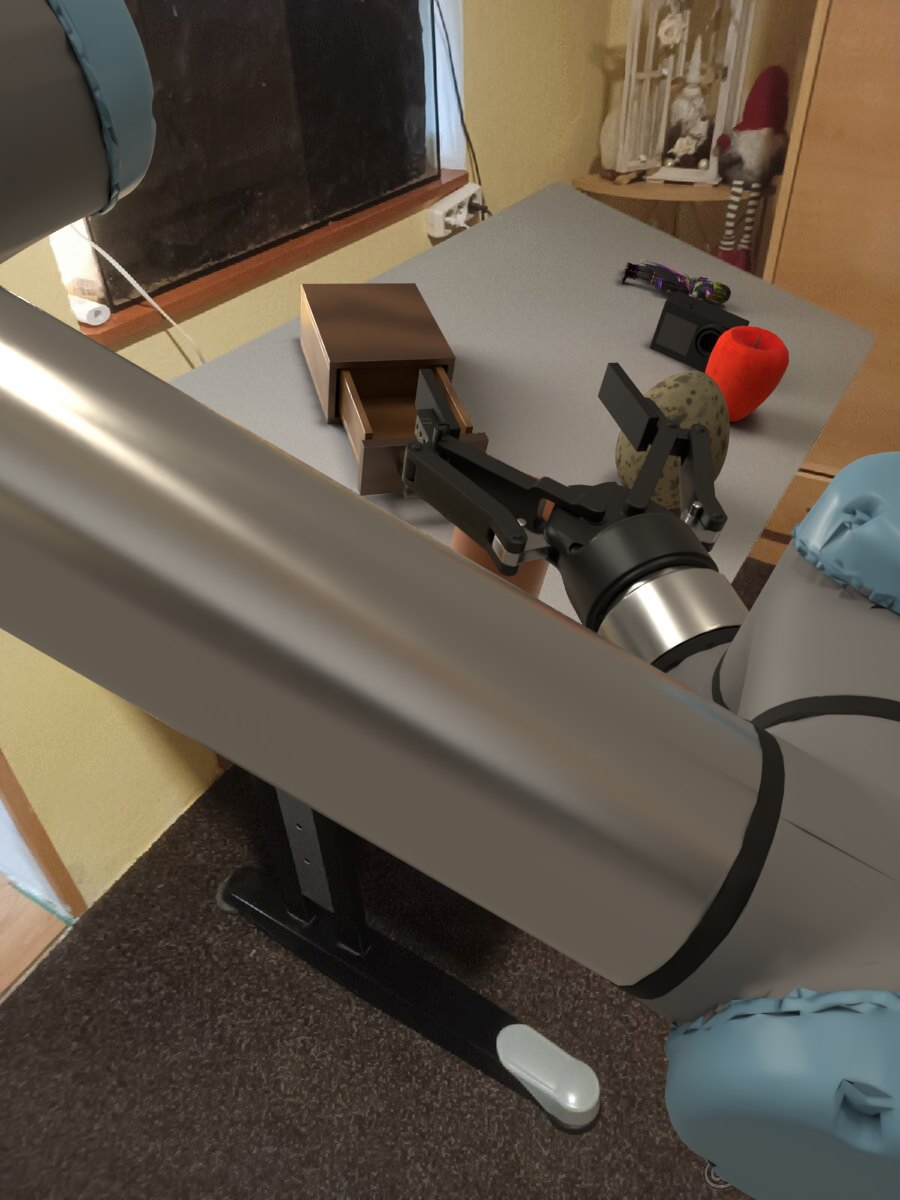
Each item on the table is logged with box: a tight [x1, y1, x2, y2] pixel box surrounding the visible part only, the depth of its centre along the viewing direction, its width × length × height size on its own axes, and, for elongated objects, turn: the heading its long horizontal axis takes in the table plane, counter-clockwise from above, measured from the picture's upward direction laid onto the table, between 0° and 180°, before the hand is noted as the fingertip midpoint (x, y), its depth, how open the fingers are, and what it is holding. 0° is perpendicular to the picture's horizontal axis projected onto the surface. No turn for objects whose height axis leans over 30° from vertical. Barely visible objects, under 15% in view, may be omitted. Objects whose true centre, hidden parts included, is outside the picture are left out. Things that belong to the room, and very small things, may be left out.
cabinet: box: [299, 282, 457, 425], centre depth 94 cm, size 17×14×8 cm
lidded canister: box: [450, 472, 555, 599], centre depth 65 cm, size 8×8×15 cm
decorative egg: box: [614, 370, 731, 510], centre depth 83 cm, size 11×11×15 cm
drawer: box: [335, 365, 490, 499], centre depth 84 cm, size 20×12×6 cm, turn 17°
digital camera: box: [649, 291, 750, 373], centre depth 108 cm, size 10×5×7 cm, turn 55°
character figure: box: [620, 258, 732, 305], centre depth 123 cm, size 9×4×16 cm
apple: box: [705, 325, 790, 423], centre depth 99 cm, size 9×9×11 cm
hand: (518, 382), depth 56 cm, fingers open, 13 cm apart
